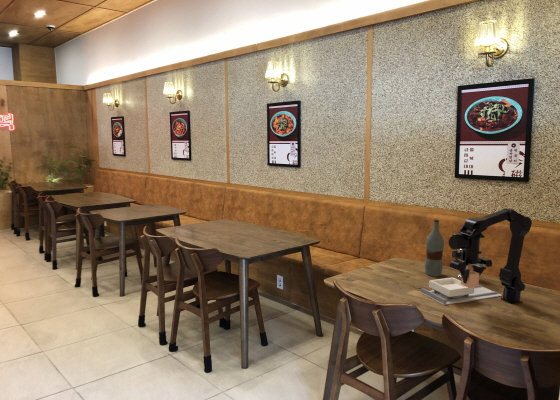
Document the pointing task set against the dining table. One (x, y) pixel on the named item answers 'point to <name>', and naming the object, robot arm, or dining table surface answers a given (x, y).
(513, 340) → the dining table surface
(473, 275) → the block
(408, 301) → the dining table surface
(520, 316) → the dining table surface
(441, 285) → the cream rimmed tray
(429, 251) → the bottle
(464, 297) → the track
